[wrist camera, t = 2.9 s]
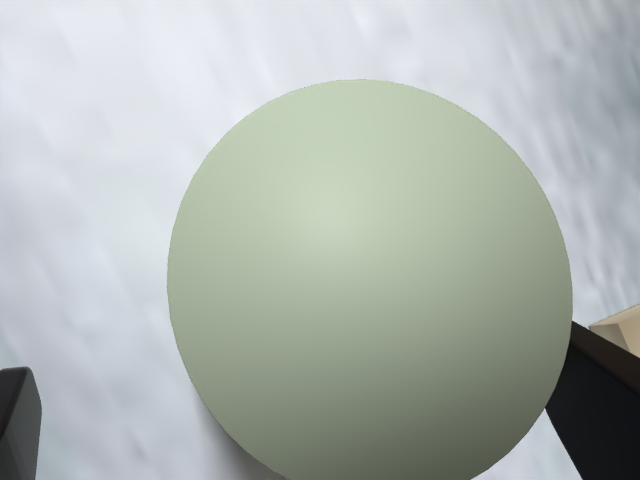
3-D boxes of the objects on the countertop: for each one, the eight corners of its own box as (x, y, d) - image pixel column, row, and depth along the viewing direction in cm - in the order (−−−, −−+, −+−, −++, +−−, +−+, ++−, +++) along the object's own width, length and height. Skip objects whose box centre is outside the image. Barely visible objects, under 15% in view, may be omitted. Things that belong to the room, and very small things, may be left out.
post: (337, 374, 18) (633, 399, 6) (209, 425, 17) (254, 587, 5) (293, 250, 19) (482, 44, 7) (166, 291, 18) (108, 133, 5)
